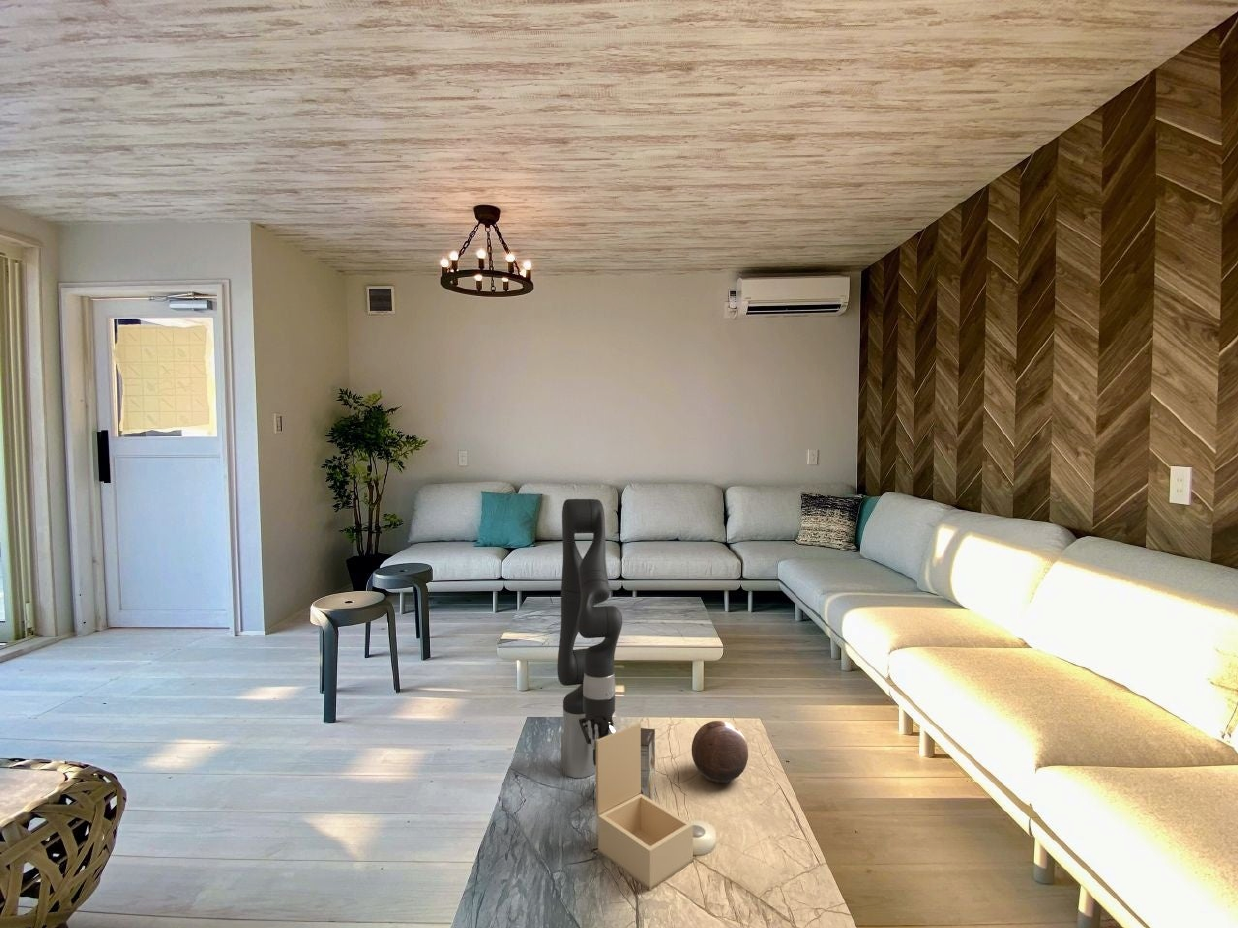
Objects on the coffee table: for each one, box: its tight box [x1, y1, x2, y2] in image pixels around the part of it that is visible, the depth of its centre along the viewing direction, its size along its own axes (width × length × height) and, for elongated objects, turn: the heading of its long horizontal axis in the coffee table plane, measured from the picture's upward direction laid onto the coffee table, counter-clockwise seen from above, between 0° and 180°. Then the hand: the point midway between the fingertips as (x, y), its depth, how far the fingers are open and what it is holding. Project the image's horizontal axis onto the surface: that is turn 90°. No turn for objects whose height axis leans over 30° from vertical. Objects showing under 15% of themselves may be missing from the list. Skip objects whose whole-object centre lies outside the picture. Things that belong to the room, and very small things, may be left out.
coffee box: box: [624, 727, 656, 802], centre depth 154 cm, size 9×6×16 cm
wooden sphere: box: [691, 720, 749, 783], centre depth 164 cm, size 15×15×15 cm
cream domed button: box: [685, 819, 717, 856], centre depth 137 cm, size 9×9×2 cm
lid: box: [595, 722, 642, 815], centre depth 138 cm, size 16×13×1 cm
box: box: [597, 794, 694, 891], centre depth 132 cm, size 16×13×8 cm
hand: (599, 764), depth 143 cm, fingers closed
